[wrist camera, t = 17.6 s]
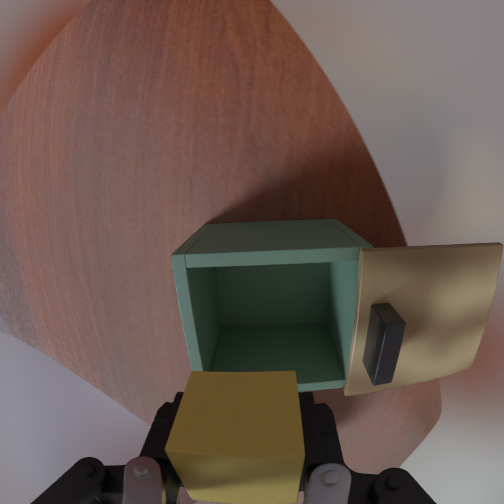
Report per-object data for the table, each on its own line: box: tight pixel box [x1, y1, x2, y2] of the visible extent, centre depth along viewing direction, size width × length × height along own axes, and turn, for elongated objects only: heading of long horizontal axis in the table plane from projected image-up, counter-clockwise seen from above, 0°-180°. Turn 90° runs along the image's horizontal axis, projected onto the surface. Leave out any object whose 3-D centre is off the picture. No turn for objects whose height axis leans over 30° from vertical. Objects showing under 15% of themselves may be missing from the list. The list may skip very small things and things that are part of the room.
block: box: [165, 370, 305, 504], centre depth 9 cm, size 4×4×4 cm
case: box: [171, 219, 373, 392], centre depth 20 cm, size 10×11×9 cm
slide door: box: [344, 242, 503, 396], centre depth 14 cm, size 10×11×3 cm
